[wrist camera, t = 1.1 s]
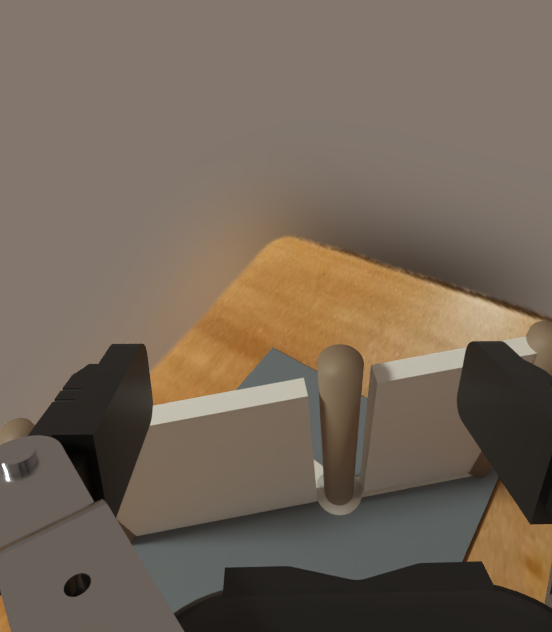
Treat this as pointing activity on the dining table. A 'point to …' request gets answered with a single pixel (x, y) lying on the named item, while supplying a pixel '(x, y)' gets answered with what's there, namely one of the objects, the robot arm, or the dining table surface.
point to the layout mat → (321, 521)
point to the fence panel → (216, 458)
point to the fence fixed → (403, 416)
